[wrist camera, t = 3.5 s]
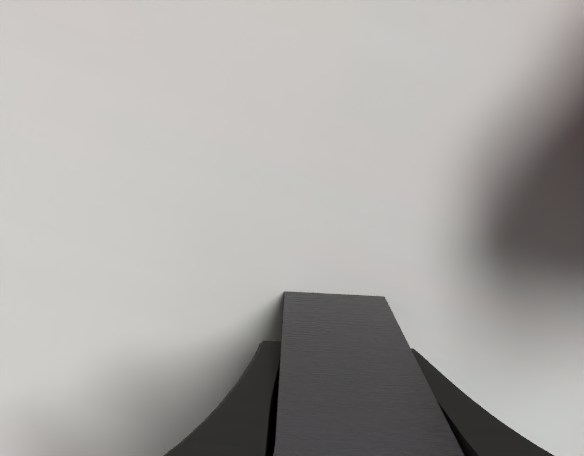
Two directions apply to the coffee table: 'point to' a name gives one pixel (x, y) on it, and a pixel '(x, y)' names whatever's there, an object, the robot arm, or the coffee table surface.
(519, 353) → the coffee table surface
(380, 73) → the coffee table surface
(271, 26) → the coffee table surface
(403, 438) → the dark grey mallet
